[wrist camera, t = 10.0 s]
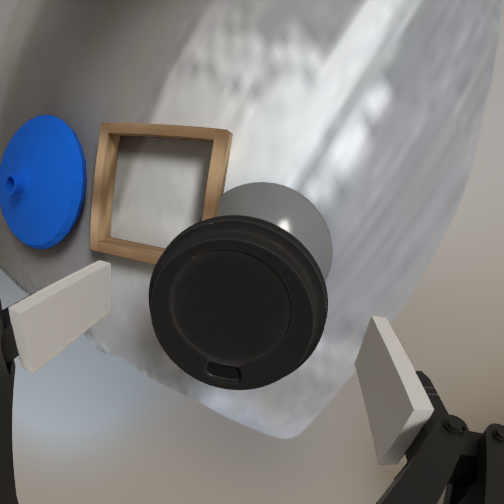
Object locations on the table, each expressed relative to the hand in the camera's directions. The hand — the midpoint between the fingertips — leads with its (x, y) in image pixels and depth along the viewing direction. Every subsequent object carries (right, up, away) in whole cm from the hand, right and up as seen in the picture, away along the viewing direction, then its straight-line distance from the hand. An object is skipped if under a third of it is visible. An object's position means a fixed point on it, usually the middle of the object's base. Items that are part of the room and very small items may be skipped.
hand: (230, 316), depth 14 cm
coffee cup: (+2, +3, +14) cm, 15 cm away
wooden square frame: (-8, +9, +15) cm, 19 cm away
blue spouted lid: (-23, +12, +17) cm, 31 cm away
